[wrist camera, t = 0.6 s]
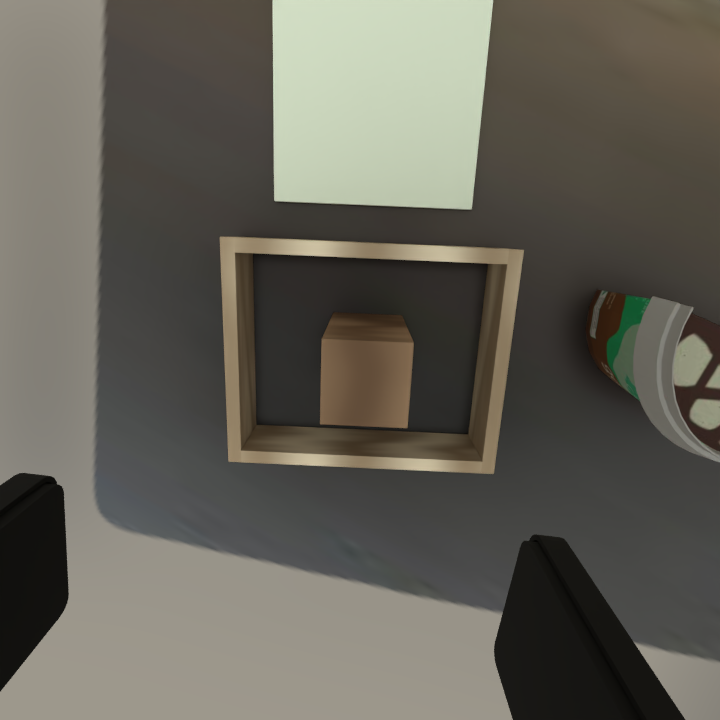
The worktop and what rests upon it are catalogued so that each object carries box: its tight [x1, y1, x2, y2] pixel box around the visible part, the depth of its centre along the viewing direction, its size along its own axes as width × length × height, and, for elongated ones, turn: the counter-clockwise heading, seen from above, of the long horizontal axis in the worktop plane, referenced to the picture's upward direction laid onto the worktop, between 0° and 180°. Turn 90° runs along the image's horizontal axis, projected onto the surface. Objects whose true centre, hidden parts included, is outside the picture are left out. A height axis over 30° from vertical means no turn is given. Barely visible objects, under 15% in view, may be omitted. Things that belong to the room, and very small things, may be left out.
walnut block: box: [320, 312, 414, 428], centre depth 26 cm, size 4×4×8 cm
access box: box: [220, 237, 524, 474], centre depth 28 cm, size 17×14×4 cm
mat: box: [273, 0, 493, 210], centre depth 26 cm, size 12×12×1 cm
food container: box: [585, 289, 720, 462], centre depth 25 cm, size 12×6×10 cm, turn 67°
